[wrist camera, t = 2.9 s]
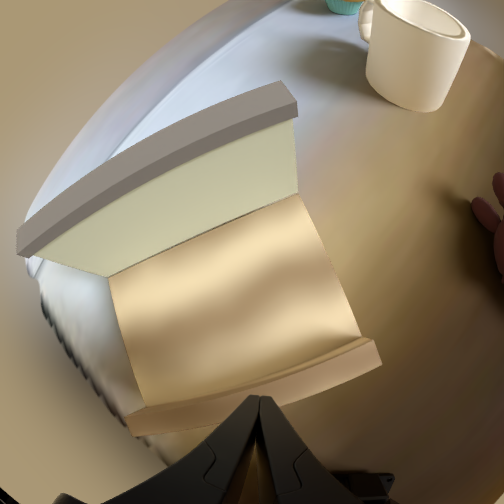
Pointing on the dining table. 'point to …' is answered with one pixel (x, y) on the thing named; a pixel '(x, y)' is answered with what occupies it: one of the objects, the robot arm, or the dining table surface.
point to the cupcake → (344, 6)
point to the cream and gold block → (237, 321)
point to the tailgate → (172, 185)
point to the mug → (411, 51)
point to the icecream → (493, 219)
